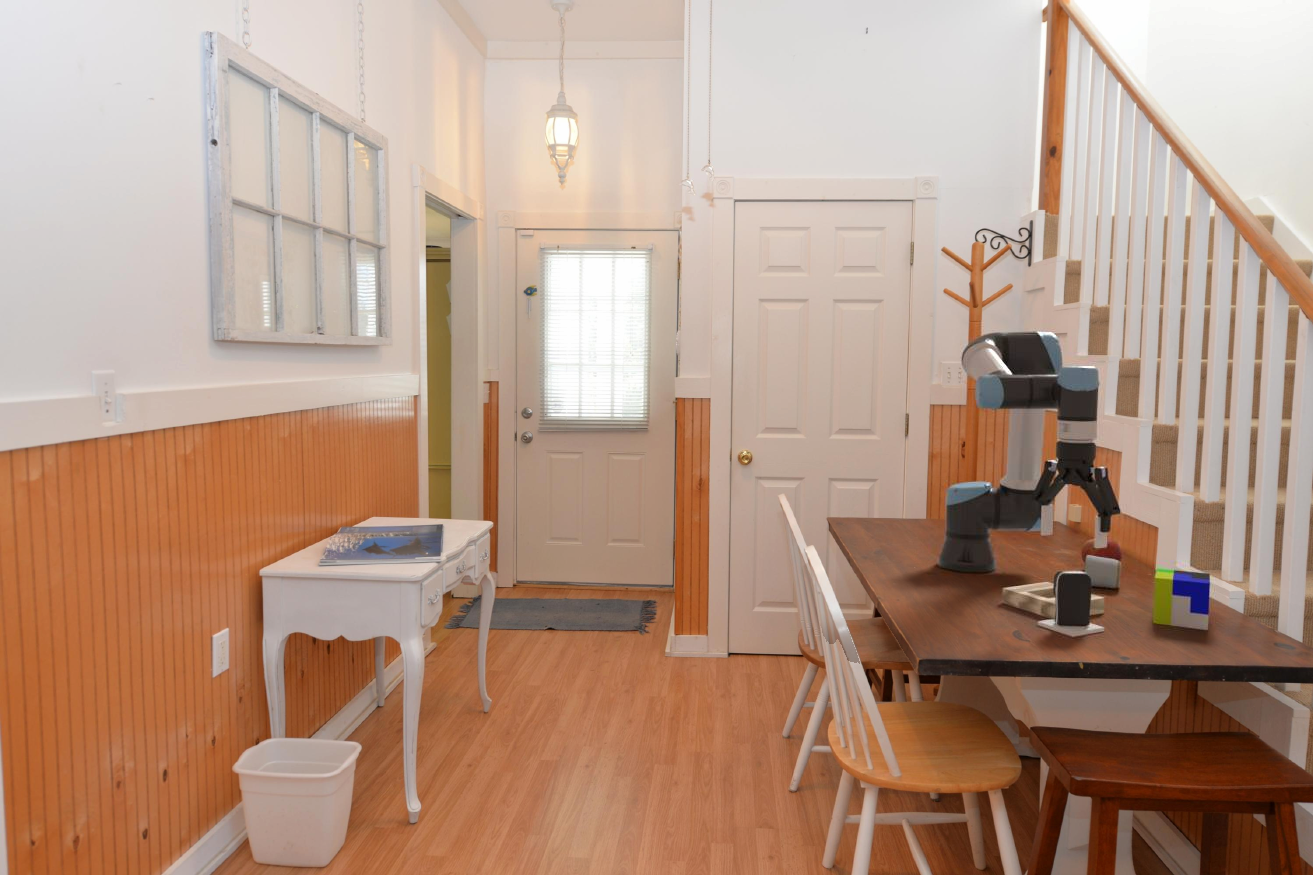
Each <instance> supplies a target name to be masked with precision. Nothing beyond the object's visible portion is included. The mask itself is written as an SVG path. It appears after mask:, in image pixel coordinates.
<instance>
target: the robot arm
mask: <svg viewBox="0 0 1313 875" xmlns="http://www.w3.org/2000/svg"><path fill="white" fill-rule="evenodd" d="M1061 347H1062V346H1061V343H1060V341H1059V339H1058V336H1057V335H1056V334H1054V333H1053V332H1049V331H1038V330H1037V331H1036V330H1034V331H1013V332H1010V331H1009V332H999V331H998V332H990V333H986V334H983V335H980V336H978V337H976V338H974V339H973V340H971V341H970V342H969V343H968V344H967V345H966V346H965V347H964V349H963V352H962V354H961V358H960V359H961V360H960V361H961V366H962V369H963V370H964V372H965V373H966V374H967V376H969V377H970V378H972V379H974V380H975V389H974V391H975V393H974V395H975V397H974V398H975V402H976V406H977V407H978V408H980V409H987V410H989V409H990V410H992V411H993V410H994V411H995V410H1009V420H1008V421H1009V422H1008V440H1007V455H1006V456H1007V457H1006V469H1005V471H1006V472H1005V473H1006V474H1005V475H1004V476H1003V477H1002V478H1001V479H1000V480H999V487H993V486H992V484H991V482H988V481H967V482H960V483H955V484H953V485H950V486H949V487H948V488H947V490H946V492H945V493H946V494H945V502H944V504H945V525H944V526H945V527H944V528H945V531H944V533H945V534H944V535H945V537H944V540H943V543H942V547H941V550H940V553H939V555H938V558H937V562H938V563H937V566H938V567H940V568H942V569H945V570H949V571H954V572H960V573H961V572H962V573H988V572H992V571H995V570H996V569H997V559H996V557H995V555H994V551H993V546H992V543H991V535H990V534H991V531H1014V532H1015V531H1019V532H1027V533H1028V532H1037V531H1038V532H1039V531H1040V536H1043V537H1045V536H1051V535H1053V534H1054V531H1053V530H1054V529H1053V528H1054V504H1053V500H1054V499H1055V498H1056V497H1057V496H1058V494H1059V493H1061V491H1062V489H1063V488H1064V487H1065V485H1069V486H1070V485H1072V486H1074V487H1080V489H1082V490H1083V491H1084V492H1085V494H1086V495H1087V497H1088V499H1089V501H1090V502H1091V504H1092V505H1093V507H1094V508H1095V511H1096V512H1097V514H1096V515H1095V517H1094V538H1093V539H1094V548H1104V547H1107V539H1108V537H1107V536H1108V533H1110V531H1111V522H1112V517H1113V516H1115V515H1120V514H1121V507H1120V504H1119V503H1118V499H1117V498H1116V494H1115V491H1114V489H1113V486H1112V484H1111V481H1110V479H1109V478H1110V477H1109V469H1108V467H1107V466H1098V467H1095V466H1094V461H1095V459H1096V458H1097V443H1096V442H1095V440H1096V439H1097V438H1098V436H1097V435H1098V431H1097V430H1098V407H1099V406H1098V405H1099V404H1098V403H1099V388H1100V380H1099V378H1100V377H1099V369H1098V368H1097V367H1095V366H1087V365H1086V366H1081V365H1078V366H1072V365H1071V366H1063V355H1062V354H1063V353H1062V349H1061ZM1046 410H1057V415H1056V416H1057V417H1056V418H1057V420H1056V438H1057V439H1058V440H1057V442H1056V444H1055V446H1056V447H1055V458H1057V459H1058V460H1057V459H1051V460H1049V459H1048V460H1045V461H1044V465H1043V466H1044V467H1043V472H1042V463H1043V462H1042V460H1043V450H1044V449H1043V446H1044V445H1043V444H1044V434H1045V433H1044V431H1045V419H1046V418H1045V417H1046V416H1045V415H1046ZM1056 472H1057V473H1058V474H1057V473H1056ZM1056 474H1057V475H1056ZM1055 475H1056V476H1055Z"/></svg>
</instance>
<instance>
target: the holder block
mask: <svg viewBox="0 0 1313 875" xmlns="http://www.w3.org/2000/svg"><path fill="white" fill-rule="evenodd" d="M1053 586H1054V582H1053V583H1052V582H1048V581H1044V582H1036V583H1031V584H1030V583H1029V584H1023V585H1017V586H1008V587H1002V603H1003V604H1005V605H1009V606H1011V607H1013V608H1017V609H1020V610H1024V611H1027V612H1029V613H1033V614H1036V615H1039V616H1042V617H1045V618H1047V619H1048V618H1049V619H1055V613H1056V601H1055V594H1053ZM1105 600H1106V598H1105V596H1104V597H1102V596H1099V595H1095V594H1092V593H1091V604H1090V616H1093V615H1100V614H1104V613H1105Z"/></svg>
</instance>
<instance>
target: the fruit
mask: <svg viewBox="0 0 1313 875" xmlns="http://www.w3.org/2000/svg"><path fill="white" fill-rule="evenodd" d="M1094 539H1095V538H1092V539H1089V540H1087V541H1086V542H1085V543H1084V544H1083V545H1082V548H1081V559H1082V561H1083V563H1084V564H1085V561H1086V556H1087V555H1091V556H1096V557H1103V558H1109V559H1115V560H1118V561H1120V562H1121V563H1122V558H1123V551H1122V548H1121V546H1120V545H1119V543H1118V542H1117V541H1115V540H1114V539H1112V538H1110V539H1109V536H1108V535H1107V547H1104V548H1094Z"/></svg>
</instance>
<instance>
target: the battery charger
mask: <svg viewBox="0 0 1313 875" xmlns="http://www.w3.org/2000/svg"><path fill="white" fill-rule="evenodd" d="M1053 584H1054V586H1053V594H1055V601H1056V613H1055V623H1056V624H1057V625H1064V626H1086V625H1090V623H1091V620H1090V618H1091V617H1090V616H1091V615H1090V604H1091V594H1092V586H1091V578H1090V576H1089V575H1088V574H1087V573H1085V571H1081V570H1059V571H1057V572H1055V574H1054V577H1053Z"/></svg>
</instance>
